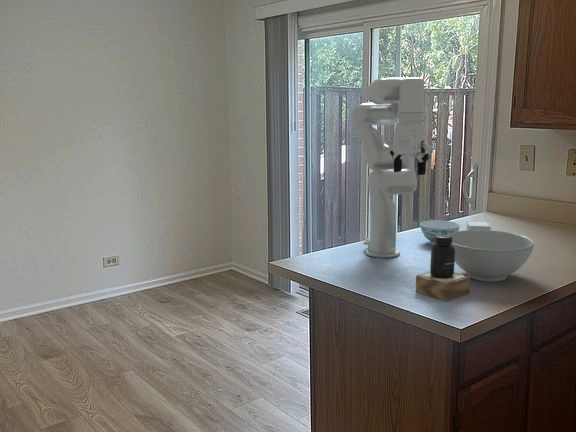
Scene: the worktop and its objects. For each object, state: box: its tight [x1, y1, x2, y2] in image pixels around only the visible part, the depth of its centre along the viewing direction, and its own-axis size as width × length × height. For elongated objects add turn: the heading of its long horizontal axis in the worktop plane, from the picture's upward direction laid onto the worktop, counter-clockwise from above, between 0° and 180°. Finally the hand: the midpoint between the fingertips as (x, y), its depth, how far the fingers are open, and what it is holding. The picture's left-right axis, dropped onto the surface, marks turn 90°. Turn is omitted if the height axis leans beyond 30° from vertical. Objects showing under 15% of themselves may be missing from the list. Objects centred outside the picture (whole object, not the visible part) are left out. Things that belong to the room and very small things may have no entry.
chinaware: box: [420, 219, 461, 246], centre depth 225 cm, size 15×15×8 cm
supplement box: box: [466, 221, 491, 230], centre depth 204 cm, size 7×7×13 cm
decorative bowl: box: [448, 229, 535, 282], centre depth 184 cm, size 27×27×12 cm
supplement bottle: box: [429, 234, 456, 278], centre depth 168 cm, size 7×7×12 cm
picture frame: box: [415, 271, 471, 302], centre depth 170 cm, size 11×11×5 cm
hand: (409, 173), depth 182 cm, fingers open, 9 cm apart
